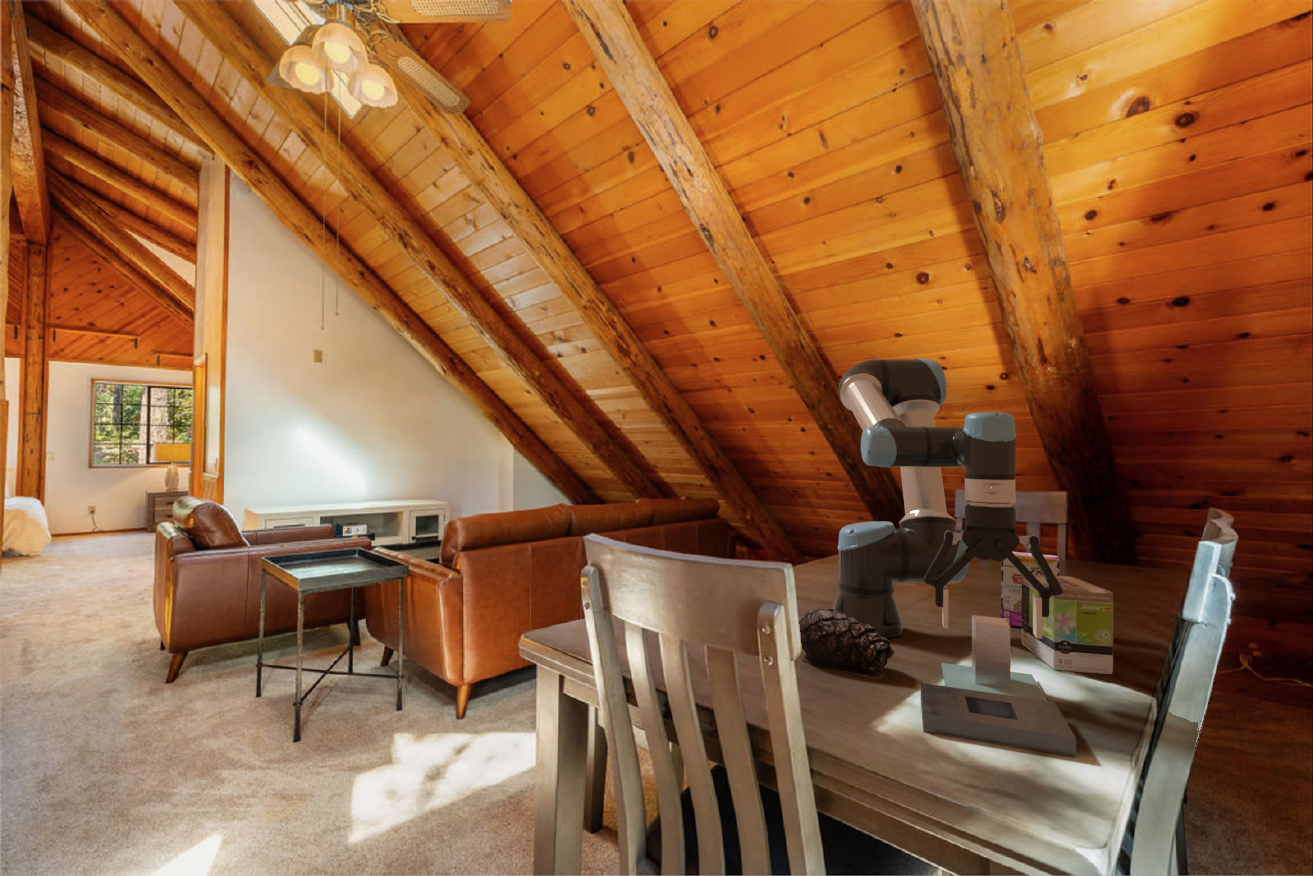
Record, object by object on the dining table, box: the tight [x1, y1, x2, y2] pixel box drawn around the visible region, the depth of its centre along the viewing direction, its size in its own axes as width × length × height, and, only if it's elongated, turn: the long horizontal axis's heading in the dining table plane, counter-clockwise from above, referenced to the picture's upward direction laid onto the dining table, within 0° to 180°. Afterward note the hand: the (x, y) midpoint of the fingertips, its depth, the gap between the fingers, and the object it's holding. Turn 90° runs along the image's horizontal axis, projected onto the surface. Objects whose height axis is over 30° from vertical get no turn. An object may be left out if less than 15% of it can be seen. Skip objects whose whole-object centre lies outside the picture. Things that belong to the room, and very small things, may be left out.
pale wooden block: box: [971, 614, 1011, 688], centre depth 100 cm, size 5×5×10 cm
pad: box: [941, 662, 1048, 701], centre depth 100 cm, size 14×12×1 cm
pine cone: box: [798, 606, 895, 680], centre depth 110 cm, size 10×18×10 cm, turn 58°
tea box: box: [1020, 575, 1114, 675], centre depth 114 cm, size 15×10×15 cm, turn 168°
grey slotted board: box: [920, 682, 1077, 758], centre depth 86 cm, size 18×12×2 cm, turn 68°
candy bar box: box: [1000, 551, 1061, 628], centre depth 134 cm, size 11×5×16 cm, turn 58°
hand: (990, 631), depth 100 cm, fingers open, 13 cm apart
